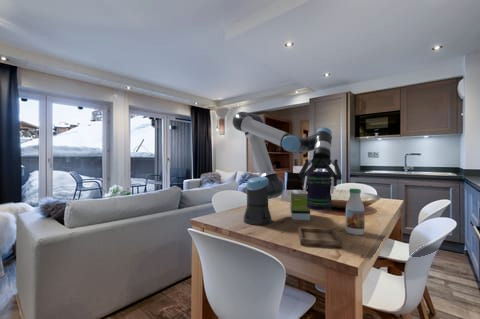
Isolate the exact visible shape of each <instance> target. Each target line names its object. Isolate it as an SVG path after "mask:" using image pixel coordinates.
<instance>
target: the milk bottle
mask: <svg viewBox="0 0 480 319" xmlns="http://www.w3.org/2000/svg"><path fill="white" fill-rule="evenodd" d="M361 193H362V191H361V189H359V188H349V198H348V200H347V202H346V205H345V232H346V233H347V234H350V235H355V236H363V235H365V220H366V219H365V205H364V203H363V201H362V198H361Z"/></svg>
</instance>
